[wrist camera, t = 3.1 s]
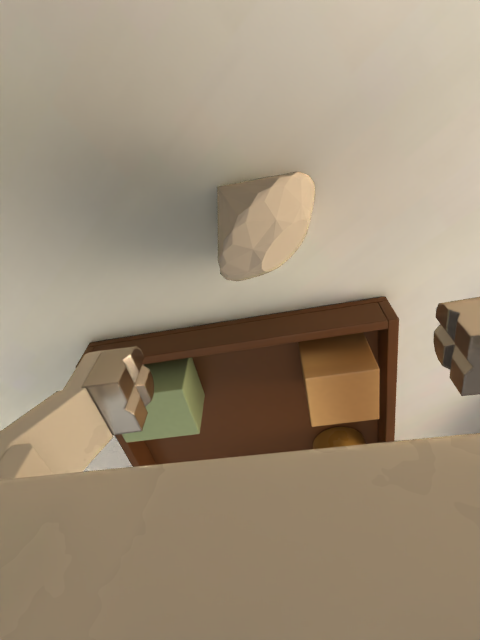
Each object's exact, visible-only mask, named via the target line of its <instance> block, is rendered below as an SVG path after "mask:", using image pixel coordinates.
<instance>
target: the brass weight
mask: <svg viewBox="0 0 480 640" xmlns="http://www.w3.org/2000/svg"><path fill="white" fill-rule="evenodd" d="M361 444H366V443H365V440H364V437H363V436H362V434H361V433H360V432H358V431H357V430H355V429H352V428H348V427H334V428H330V429H327V430H325V431H323V432H321V433H320V434H319V435H318V436H317V437H316V438H315V440H314V442H313V449H320V448H330V447H340V446H350V445H361Z"/></svg>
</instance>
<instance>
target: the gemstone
mask: <svg viewBox="0 0 480 640" xmlns="http://www.w3.org/2000/svg"><path fill="white" fill-rule="evenodd" d="M314 198H315V187H314V182H313V181H312V179H311V178H310V176H309V175H306V174H303V173H301V172H293V173H287V174H282V175H276V176H271V177H266V178H260V179H255V180H250V181H244V182H239V183H234V184H228V185H223V186H218V187H217V200H218V262H219V266H220V274H221V275H222V276H223V277H224V278H225V279H227V280H233V281H241V280H246V279H250V278H253V277H257V276H260V275H263V274H265V273H268V272H270V271H272V270H274V269H276V268H278V267H280V266H281V265H282V264H283V263H285V262H286V261H287V260H288V259H289V258H290V257H291V256H292V255H293V254H294V253H295V252H296V250H297V249H298V248H299V246H300V245H301V243H302V242H303V240H304V238H305V236H306V234H307V231H308V227H309V223H310V219H311V214H312V209H313V203H314Z"/></svg>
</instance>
